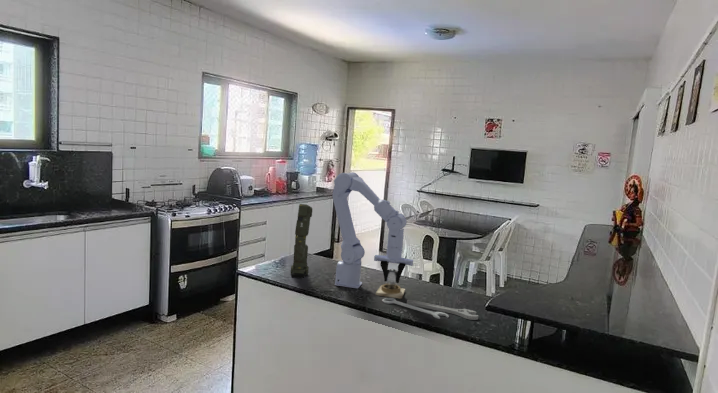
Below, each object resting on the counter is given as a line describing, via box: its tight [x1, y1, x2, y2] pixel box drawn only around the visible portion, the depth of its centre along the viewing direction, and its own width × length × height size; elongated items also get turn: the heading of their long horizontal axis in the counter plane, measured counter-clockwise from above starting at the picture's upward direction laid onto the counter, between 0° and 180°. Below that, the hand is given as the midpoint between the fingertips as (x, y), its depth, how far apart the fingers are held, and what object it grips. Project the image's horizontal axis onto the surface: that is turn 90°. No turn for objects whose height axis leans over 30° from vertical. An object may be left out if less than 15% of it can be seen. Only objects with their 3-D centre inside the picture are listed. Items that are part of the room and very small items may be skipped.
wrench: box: [381, 297, 450, 320], centre depth 159 cm, size 25×2×5 cm
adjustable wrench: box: [406, 299, 479, 321], centre depth 160 cm, size 25×6×2 cm, turn 62°
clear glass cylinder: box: [385, 268, 398, 289], centre depth 173 cm, size 4×4×8 cm
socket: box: [375, 283, 406, 300], centre depth 174 cm, size 10×10×2 cm
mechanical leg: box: [290, 203, 313, 279], centre depth 189 cm, size 14×7×30 cm, turn 179°
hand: (391, 281), depth 174 cm, fingers closed on clear glass cylinder, 4 cm apart
